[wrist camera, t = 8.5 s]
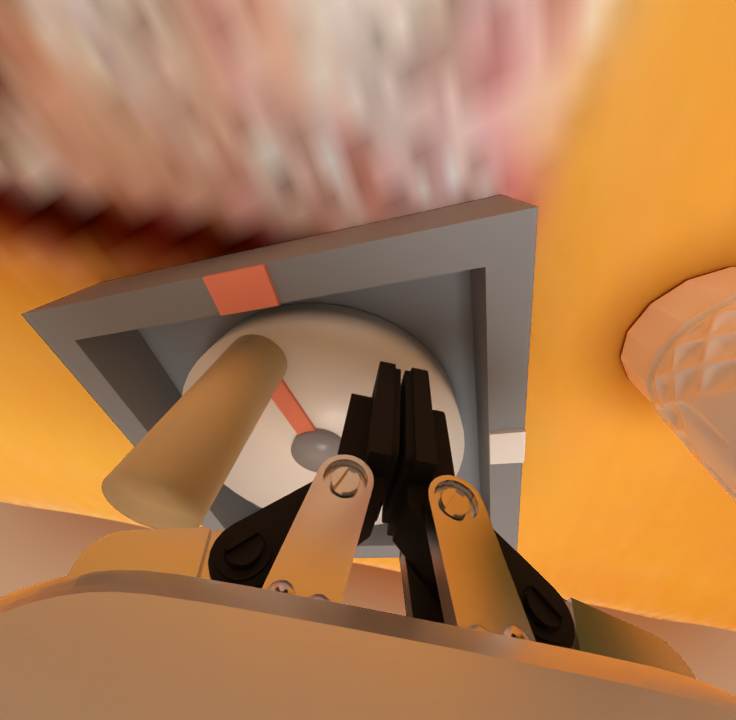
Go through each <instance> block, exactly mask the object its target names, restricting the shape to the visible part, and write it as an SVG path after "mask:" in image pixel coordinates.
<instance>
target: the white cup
mask: <svg viewBox="0 0 736 720" xmlns="http://www.w3.org/2000/svg"><path fill="white" fill-rule="evenodd" d="M621 361H622V364H623V366H624V369H625V371H626V374H627V376H628V379H629V380H630V382H631V383H632V384H633V385H634V386H635V387H636V388H637V389H638V390H639V391H640V392H641V393H642V394H643V396H644V397H645V398H646V399H647V400H648V401H649V402H650V403H651V404H652V405H653V406H654V407H655V409H656V411H657V412H658V414H659V415H660V416H661V418H662V419H663V420H664V422H665V423H666V424H667V425H668V427H669V428H670V429H671V430H672V431H673V432H674V433H675V434H676V435H677V436H678V437H679V438H680V439H681V440H682V441H683V443H684V444H685V445H686V447H687V448H688V449H689V450H690V452H691V453H692V454H693V455H694V457H695V458H696V459H697V460H698V461H699V462H700V464H701V465H702V466H703V467H704V468H705V469H706V470H707V471H708V473H709V474H710V475H711V476H712V477H713V478H714V479H715V480H716V481H717V482H718V484H719V485H720V486H721V487H722V488H723V489H724V490H725V491H726V492H727V493H728V495H729V496H730V497H731V498H732V499H733V500H734V501H735V502H736V267H729V268H726V269H722V270H719V271H716V272H713V273H709V274H706V275H703V276H699V277H696V278H693V279H689V280H687V281H685V282H684V283H682V284H681V285H679V286H677V287H676V288H674V289H673V290H671V291H670V292H668V293H667V294H665V295H664V296H662V297H661V298H659V299H657V300H656V301H654V302H653V303H651V304H650V305H649V307H648V308H647V309H646V310H645V311H644V313H643V314H642V315H641V316H640V317H639V318H638V320H637V321H636V322H635V323H634V324H633V326H632V327H631V328H630V329H629V331H628V332H627V336H626V339H625V343H624V347H623V350H622V354H621Z"/></svg>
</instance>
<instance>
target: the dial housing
mask: <svg viewBox="0 0 736 720" xmlns="http://www.w3.org/2000/svg"><path fill="white" fill-rule="evenodd" d="M537 215H538V207H537V206H534V205H531V204H528V203H525V202H522V201H519V200H516V199H513V198H511V197H508V196H505V195H497V196H493V197H488V198H484V199H479V200H475V201H470V202H466V203H461V204H456V205H452V206H447V207H443V208H438V209H434V210H429V211H425V212H420V213H415V214H411V215H406V216H402V217H397V218H393V219H388V220H384V221H379V222H375V223H370V224H365V225H361V226H356V227H352V228H347V229H343V230H338V231H334V232H329V233H324V234H320V235H315V236H311V237H306V238H302V239H297V240H293V241H288V242H283V243H279V244H274V245H270V246H265V247H261V248H256V249H252V250H247V251H243V252H238V253H233V254H229V255H224V256H220V257H215V258H211V259H206V260H202V261H197V262H192V263H188V264H183V265H179V266H174V267H170V268H165V269H161V270H156V271H151V272H147V273H142V274H138V275H133V276H129V277H124V278H120V279H115V280H110V281H106V282H101V283H98V284H96V285H93V286H91V287H88V288H86V289H83V290H81V291H78V292H76V293H73V294H71V295H68V296H66V297H63V298H61V299H58V300H56V301H53V302H51V303H48V304H46V305H43V306H41V307H38V308H36V309H33V310H31V311H28V312H26V313H23V314H21V315H22V316H23V317H24V318H25V319H26V320H27V322H28V323H29V324H30V325H31V326H32V327H33V329H34V330H35V331H36V332H37V333H38V334H39V336H40V337H41V338H42V339H43V340H44V341H45V343H46V344H47V345H48V346H49V347H50V348H51V350H52V351H53V352H54V353H55V354H56V355H57V357H58V358H59V359H60V360H61V361H62V362H63V364H64V365H65V366H66V367H67V368H68V369H69V371H70V372H71V373H72V374H73V375H74V376H75V378H76V379H77V380H78V381H79V382H80V384H81V385H82V386H83V387H84V388H85V389H86V391H87V392H88V393H89V394H90V395H91V396H92V398H93V399H94V400H95V401H96V402H97V403H98V405H99V406H100V407H101V408H102V409H103V410H104V412H105V413H106V414H107V415H108V416H109V417H110V419H111V420H112V421H113V422H114V423H115V424H116V426H117V427H118V428H119V429H120V430H121V431H122V433H123V434H124V435H125V436H126V437H127V438H128V440H129V441H130V442H131V443H132V444H133V445H134V447H135V446H136V445H137V444H138V443H139V442H140V441H141V440H142V439H143V437H144V436H145V435H146V434H147V433H148V432H149V431H150V430H151V429H152V428H153V427H154V426H155V425H156V424H157V423H158V422H159V420H160V419H161V418H162V417H163V416H164V415H165V414H166V413H167V412H168V411H169V410H170V409H171V408H172V407H173V406H174V405H175V403H176V402H177V401H178V400H179V399H180V398H181V397H182V392H183V387H184V384H185V382H186V379H187V377H188V374H189V373H190V371H191V370H192V368H193V367H194V365H195V363H196V362H197V361H198V360H199V359H200V358H201V357H202V356H203V355H204V354H205V353H206V352H207V351H208V350H209V349H210V348H211V347H212V346H213V345H214V344H215V343H216V342H217V341H218V340H219V339H220V338H221V337H222V336H223V335H224V334H225V333H226V332H227V331H228V330H229V329H231V328H232V327H234V326H235V325H236V324H238V323H239V322H241V321H242V320H244V319H246V318H248V317H250V316H252V315H254V314H256V313H258V312H262V311H265V310H268V309H271V308H274V307H279V306H285V305H291V304H305V303H319V304H330V305H338V306H343V307H348V308H352V309H357V310H360V311H363V312H366V313H369V314H372V315H375V316H377V317H379V318H381V319H383V320H386V321H388V322H390V323H392V324H394V325H396V326H397V327H399V328H400V329H402V330H404V331H405V332H407V333H408V334H410V335H411V336H413V337H414V338H415V339H416V340H417V341H419V342H420V343H421V344H422V345H423V346H424V347H426V348H427V349H428V350H429V352H430V353H431V354H432V355H433V356H434V357H435V358H436V359H437V361H438V362H439V363H440V365H441V366H442V368H443V369H444V371H445V372H446V374H447V375H448V377H449V380H450V382H451V384H452V386H453V389H454V392H455V395H456V399H457V403H458V408H459V412H460V416H461V421H462V425H463V430H464V442H465V447H464V454H463V460H462V463H461V466H460V469H459V471H458V473H457V475H456V477H459V478H461V479H463V480H465V481H466V482H468V483H469V484H470V485H472V486H473V487H474V488H475V489H476V491H477V492H478V493H479V495H480V497H481V498H482V500H483V503H484V505H485V508H486V511H487V513H488V516H489V518H490V521H491V524H492V526H493V529H494V530H495V531H496V532H497V533H498V534H499V535H500V536H501V537H502V538H503V539H504V540H505V541H506V542H507V543H508V544H509V545H510V546H511V547H512V548H513V549H515V550H516V551H517V544H518V527H519V511H520V494H521V478H522V463H523V462H524V455H525V440H526V431H525V412H526V396H527V379H528V363H529V346H530V330H531V314H532V297H533V281H534V264H535V248H536V231H537ZM260 509H262V508H261V507H259V506H257V505H256V504H254V503H252V502H250V501H248V500H246V499H245V498H243V497H242V496H240V495H238V494H237V493H235V492H234V491H232V490H231V489H230V488H229V487H227V486H226V485H225V484H223V486H222V487H221V489H220V491H219V493H218V495H217V496H216V498H215V500H214V502H213V504H212V505H211V507H210V509H209V511H208V513H207V514H206V516H205V518H204V520H203V522H202V523H201V525H202V526H203V527H210V528H211V530H226V529H227V528H228V527H230V526H231V525H233V524H234V523H236V522H238V521H240V520H242V519H244V518H245V517H247V516H249V515H251V514H253V513H255V512H256V511H258V510H260ZM392 539H393V536H389V535H387V523H383V524H378V525H374V527H373V530H372V533H371V535H370V537H369V538H367V539H366V540H365V541H363V542H362V543H361V544H359V545H358V546H357V547H356V551H355V555H354V558H391V557H400V550H399V549H398V547H397V546H396V545H395V543H394V542H393V541H392Z"/></svg>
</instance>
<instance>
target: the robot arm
mask: <svg viewBox="0 0 736 720" xmlns="http://www.w3.org/2000/svg"><path fill="white" fill-rule="evenodd" d="M381 508H382V523H387V535H389V536H393V539H392V541H393V542H394V543H395V545H396V546H397V547H398V549H399V550H400V558H399V560H400V568H401V577H402V585H403V594H404V601H405V610H406V616H402V615H397V614H392V613H386V612H381V611H376V610H371V609H366V608H361V607H356V606H350V605H345V604H341V602H342V598H343V594H344V590H345V587H346V584H347V580H348V576H349V572H350V569H351V565H352V562H353V558H354V555H355V551H356V547H357V546H358V545H359V544H361V543H362V542H363V541H365V540H366V539H367V538H369V537H370V535H371V533H372V530H373V527H374V524H375V521H377V519H378V517H379V514H380V511H381ZM0 720H736V696H734V695H732V694H730V693H728V692H725V691H723V690H721V689H719V688H717V687H714V686H712V685H709V684H706V683H704V682H701V681H699V680H696V678H695V677H694V675H693V673H692V671H691V669H690V668H689V666H688V665H687V664H686V662H685V661H684V660H683V659H682V657H681V656H680V655H679V654H678V653H677V652H676V651H675V650H674V649H673V648H672V647H671V646H670V645H669V644H668V643H667V642H665V641H663V640H662V639H660V638H658V637H657V636H655V635H654V634H652V633H649V632H647V631H644V630H642V629H640V628H638V627H636V626H633V625H631V624H629V623H627V622H624V621H622V620H620V619H617V618H616V617H613V616H611V615H609V614H607V613H604V612H602V611H600V610H598V609H595V608H593V607H591V606H589V605H586V604H584V603H582V602H580V601H577V600H575V599H573V598H570V599H568V600H565V599H563V598H562V597H561V596H560V595H559V593H558V592H557V591H556V590H555V589H554V588H553V587H552V586H551V585H550V584H549V583H548V582H547V581H546V580H545V579H544V578H543V577H542V576H541V575H540V574H539V573H538V572H537V571H536V570H535V569H534V568H533V567H532V566H531V565H530V564H529V563H528V562H527V561H526V560H525V559H524V558H523V557H522V556H521V555H520V554H519V553H518V552H517V551H516V550H515V549H513V548H512V547H511V546H510V545H509V544H508V543H507V542H506V541H505V540H504V539H503V538H502V537H501V536H500V535H499V534H498V533H497V532H496V531H495V530H494V529H493V526H492V524H491V521H490V518H489V516H488V513H487V511H486V508H485V505H484V503H483V500H482V498H481V497H480V495H479V493H478V492H477V491H476V489H475V488H474V487H473V486H472V485H470V484H469V483H468V482H466V481H465V480H463V479H461V478H459V477H456V476H455V473H454V466H453V460H452V454H451V448H450V441H449V435H448V429H447V422H446V416H445V413H444V412H442V411H437V410H432V401H431V392H430V383H429V373H428V371H427V370H423V369H418V368H413V367H412V368H411V371H407V370H405V372H404V375H403V379H402V382H401V369H397V368H396V364H393V363H388V362H383V361H380V364H379V368H378V372H377V376H376V381H375V385H374V389H373V393H372V397H368V396H363V395H358V394H353V393H352V394H351V398H350V402H349V407H348V411H347V415H346V420H345V424H344V428H343V432H342V437H341V441H340V445H339V450H338V454H337V455H336V456H333V457H330V458H329V459H327V460H326V461H324V462H323V464H322V465H321V466H320V468H319V469H318V472H317V474H316V476H315V478H314V480H313V481H312V482H310V483H308V484H306V485H305V486H303V487H301V488H299V489H297V490H295V491H293V492H292V493H290V494H288V495H286V496H284V497H282V498H281V499H279V500H277V501H275V502H273V503H271V504H269V505H268V506H266V507H264V508H262V509H260V510H258V511H256V512H255V513H253V514H251V515H249V516H247V517H245V518H244V519H242V520H240V521H238V522H236V523H234V524H233V525H231V526H230V527H228V528H227V529H226V530H211V528H210V527H191V528H169V529H147V530H126V531H120V532H115V533H110V534H108V535H106V536H104V537H102V538H100V539H98V540H96V541H95V542H94V543H93V544H91V545H90V546H89V547H88V548H86V549H85V550H84V551H83V552H82V554H81V555H80V556H79V557H78V559H77V560H76V561H75V563H74V564H73V566H72V568H71V570H70V571H69V573H68V575H67V576H64V577H60V578H57V579H53V580H49V581H45V582H41V583H38V584H35V585H32V586H29V587H26V588H23V589H20V590H17V591H14V592H12V593H10V594H8V595H5V596H3V597H0Z"/></svg>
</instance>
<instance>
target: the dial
mask: <svg viewBox="0 0 736 720" xmlns="http://www.w3.org/2000/svg"><path fill="white" fill-rule="evenodd" d="M380 361H383V362H388V363H393V364H396V368H397V369H401V382H402V379H403V375H404V372H405V370H407V371H411V368H412V367H413V368H418V369H423V370H427V371H428V373H429V383H430V392H431V401H432V410H437V411H442V412H444V413H445V416H446V422H447V429H448V435H449V441H450V448H451V454H452V460H453V466H454V473H455V476H456V475H457V473H458V471H459V469H460V466H461V463H462V460H463V454H464V447H465V442H464V430H463V425H462V421H461V416H460V412H459V408H458V403H457V399H456V395H455V392H454V389H453V386H452V384H451V382H450V380H449V377H448V375H447V374H446V372H445V371H444V369H443V368H442V366H441V365H440V363H439V362H438V361H437V359H436V358H435V357H434V356H433V355H432V354H431V353H430V352H429V350H428V349H427V348H426V347H424V346H423V345H422V344H421V343H420V342H419V341H417V340H416V339H415V338H414V337H413V336H411V335H410V334H408V333H407V332H405V331H404V330H402V329H400V328H399V327H397V326H396V325H394V324H392V323H390V322H388V321H386V320H383V319H381V318H379V317H377V316H375V315H372V314H369V313H366V312H363V311H360V310H357V309H352V308H348V307H343V306H338V305H330V304H319V303H305V304H291V305H285V306H279V307H274V308H271V309H268V310H265V311H262V312H258V313H256V314H254V315H252V316H250V317H248V318H246V319H244V320H242V321H241V322H239V323H238V324H236V325H235V326H234V327H232V328H231V329H229V330H228V331H227V332H226V333H225V334H224V335H223V336H222V337H221V338H220V339H219V340H218V341H217V342H216V343H215V344H214V345H213V346H212V347H211V348H210V349H209V350H208V351H207V352H206V353H205V354H204V355H203V356H202V357H201V358H200V359H199V360H198V361H197V362H196V363H195V365H194V367H193V368H192V370H191V371H190V373H189V374H188V377H187V379H186V382H185V384H184V387H183V392H182V397H181V398H180V399H179V400H178V401H177V402H176V403H175V405H174V406H173V407H172V408H171V409H170V410H169V411H168V412H167V413H166V414H165V415H164V416H163V417H162V418H161V419H160V420H159V422H158V423H157V424H156V425H155V426H154V427H153V428H152V429H151V430H150V431H149V432H148V433H147V434H146V435H145V436H144V437H143V439H142V440H141V441H140V442H139V443H138V444H137V445H136V446H135V447H134V448H133V449H132V450H131V451H130V452H129V453H128V455H127V456H126V457H125V458H124V459H123V460H122V461H121V462H120V463H119V464H118V465H117V466H116V467H115V468H114V469H113V470H112V472H111V473H110V474H109V475H108V476H107V477H106V478H105V479H104V481H103V482H102V492H103V494H104V496H105V498H106V499H107V501H108V502H109V503H110V504H111V505H112V506H113V507H114V508H115V509H116V510H118V511H119V512H120V513H122V514H123V515H125V516H126V517H128V518H130V519H132V520H133V521H135V522H138V523H140V524H142V525H145V526H148V527H151V528H154V529H169V528H191V527H199V526H200V525H201V523H202V522H203V520H204V518H205V516H206V514H207V513H208V511H209V509H210V507H211V505H212V504H213V502H214V500H215V498H216V496H217V495H218V493H219V491H220V489H221V487H222V486H223V484H225V485H226V486H227V487H229V488H230V489H231V490H232V491H234V492H235V493H237V494H238V495H240V496H242V497H243V498H245V499H246V500H248V501H250V502H252V503H254V504H256V505H257V506H259V507H261V508H264V507H266V506H268V505H269V504H271V503H273V502H275V501H277V500H279V499H281V498H282V497H284V496H286V495H288V494H290V493H292V492H293V491H295V490H297V489H299V488H301V487H303V486H305V485H306V484H308V483H310V482H312V481H313V480H314V478H315V476H316V474H317V472H318V469H319V468H320V466H321V465H322V464H323V462H324V461H326V460H327V459H329V458H330V457H333V456H336V455H337V454H338V450H339V445H340V441H341V437H342V432H343V428H344V424H345V420H346V415H347V411H348V407H349V402H350V398H351V394H352V393H353V394H358V395H363V396H368V397H372V393H373V389H374V385H375V381H376V376H377V372H378V368H379V364H380ZM378 524H383V523H382V508H381V511H380V514H379V517H378V519H377V521H375V524H374V525H378Z"/></svg>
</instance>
